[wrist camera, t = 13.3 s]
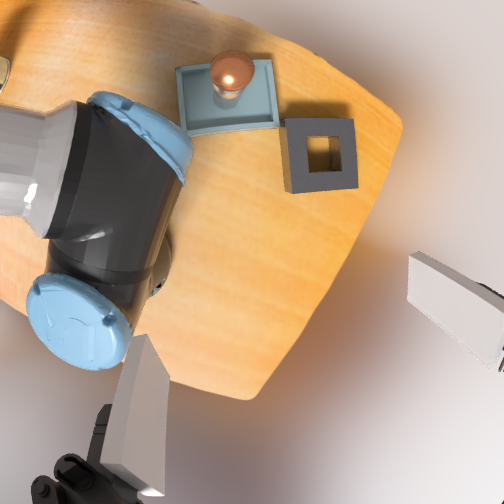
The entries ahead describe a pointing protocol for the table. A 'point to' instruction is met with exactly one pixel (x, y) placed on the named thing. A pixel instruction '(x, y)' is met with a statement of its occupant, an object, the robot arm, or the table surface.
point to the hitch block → (297, 157)
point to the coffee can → (4, 72)
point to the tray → (225, 120)
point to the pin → (230, 77)
